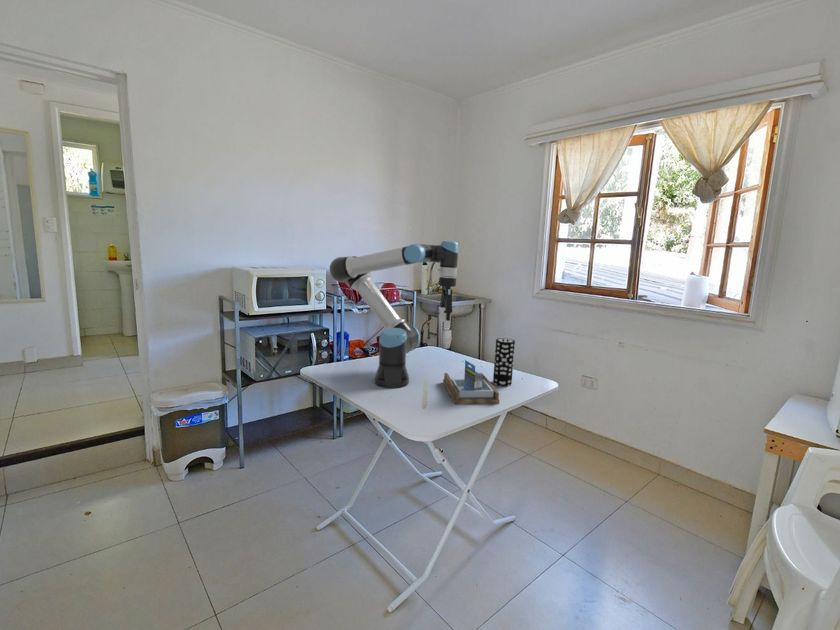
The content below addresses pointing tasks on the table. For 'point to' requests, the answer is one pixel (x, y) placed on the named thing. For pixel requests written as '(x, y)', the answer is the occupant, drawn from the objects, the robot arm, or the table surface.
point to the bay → (456, 400)
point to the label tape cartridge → (472, 378)
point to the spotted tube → (503, 362)
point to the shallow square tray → (484, 393)
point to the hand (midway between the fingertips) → (444, 324)
